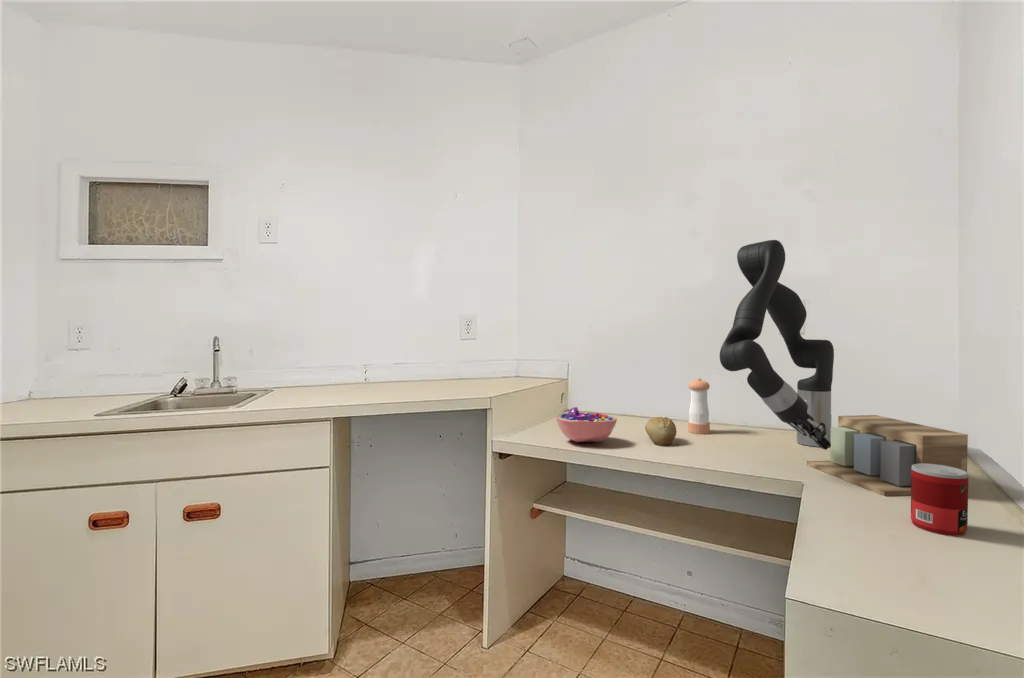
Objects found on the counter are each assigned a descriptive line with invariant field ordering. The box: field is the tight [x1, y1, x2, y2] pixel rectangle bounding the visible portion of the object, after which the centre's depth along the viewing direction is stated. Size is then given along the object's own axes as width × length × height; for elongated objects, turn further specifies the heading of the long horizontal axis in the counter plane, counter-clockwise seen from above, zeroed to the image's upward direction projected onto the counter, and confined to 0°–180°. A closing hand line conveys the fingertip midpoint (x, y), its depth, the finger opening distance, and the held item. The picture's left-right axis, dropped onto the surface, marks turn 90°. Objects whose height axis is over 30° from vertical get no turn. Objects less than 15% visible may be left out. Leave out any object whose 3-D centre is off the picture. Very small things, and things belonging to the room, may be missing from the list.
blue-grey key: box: [854, 434, 886, 475], centre depth 122 cm, size 5×10×9 cm, turn 95°
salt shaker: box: [687, 377, 711, 435], centre depth 176 cm, size 7×7×19 cm
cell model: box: [555, 406, 618, 443], centre depth 161 cm, size 17×20×11 cm
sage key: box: [830, 426, 860, 466], centre depth 130 cm, size 5×10×9 cm, turn 95°
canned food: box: [910, 463, 969, 537], centre depth 91 cm, size 8×8×11 cm
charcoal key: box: [880, 441, 916, 486], centre depth 114 cm, size 5×10×9 cm, turn 96°
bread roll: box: [644, 416, 677, 446], centre depth 162 cm, size 10×15×8 cm, turn 175°
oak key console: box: [806, 414, 969, 497], centre depth 122 cm, size 25×20×13 cm
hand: (826, 446), depth 129 cm, fingers closed
